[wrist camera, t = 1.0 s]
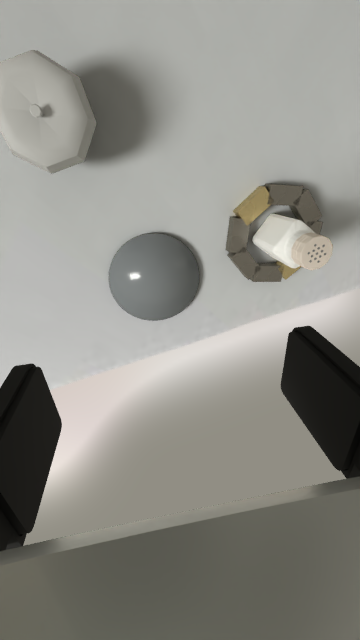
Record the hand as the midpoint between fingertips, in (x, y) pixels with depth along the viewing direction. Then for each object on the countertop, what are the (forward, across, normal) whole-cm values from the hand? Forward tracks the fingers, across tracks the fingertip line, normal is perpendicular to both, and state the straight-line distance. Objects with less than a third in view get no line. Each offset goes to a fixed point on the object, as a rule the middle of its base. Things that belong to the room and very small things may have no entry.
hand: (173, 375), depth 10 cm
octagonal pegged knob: (+24, +7, -11) cm, 28 cm away
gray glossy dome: (+24, 0, +4) cm, 24 cm away
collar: (+24, -15, 0) cm, 28 cm away
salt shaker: (+24, -15, 0) cm, 28 cm away
